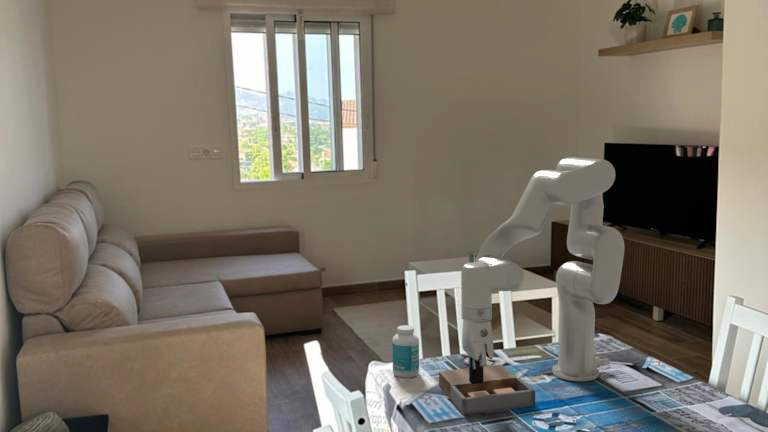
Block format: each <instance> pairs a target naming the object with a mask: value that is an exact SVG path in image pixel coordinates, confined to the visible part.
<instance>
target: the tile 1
mask: <svg viewBox="0 0 768 432" xmlns="http://www.w3.org/2000/svg"><path fill="white" fill-rule="evenodd" d="M483 395H490V394H489V393H488V392H487V391H478V392H470V393H467V397H475V396H483Z"/></svg>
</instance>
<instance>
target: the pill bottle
mask: <svg viewBox="0 0 768 432" xmlns="http://www.w3.org/2000/svg"><path fill="white" fill-rule="evenodd" d="M396 332H397V333H396V334H395V335H394V336H393V337H392V348H391V349H392V373H393V375H394V376H396V377H398V378H404V379H407V378H408V379H409V378H413V377H416V376H418V375H419V373H420V341H419V340H420V338H419V337H418V335H416V334H415V333H414V332H415V327H414V326H412V325H405V324H404V325H399V326H397V327H396Z"/></svg>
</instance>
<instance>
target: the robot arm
mask: <svg viewBox="0 0 768 432" xmlns="http://www.w3.org/2000/svg"><path fill="white" fill-rule="evenodd" d="M615 181H616V170H615V168H614V166H613V164H612V163H611V162H610V161H608V160H607V159H602V158H592V157H591V158H590V157H589V158H588V157H577V156H576V157H575V156H572V157H564V158H562V159H561V160H560V161H558V162H557V164H556V168H555V169H540V170H538V171H536V172H535V173H534V174H533V175H532V176H531V178H530V179H529V181H528V184H527V186H526V187H525V190H524V191H523V193H522V195H521V198H520V199H519V201H518V203H517V205H516V207H515V209H514V211H513V213H512V215H511V216H510V217H509V218H508V219H507V220H506V221H505V222H504V223H502V224H501V225H500V226H498V227H497V228H496V229H495V230H494V231H493V232H491V233H490V234H489V236H488V237H487V238H486V239H485V240H484V242H483V244H482V246H481V247H480V250H479V251H478V253H477V255H476V257H475V260H474V261H473V262H467V263H465V264H463V265H462V267H461V270H460V271H461V273H460V274H461V275H460V277H461V279H460V280H461V285H460V286H461V288H460V289H461V291H460V292H461V293H460V294H461V295H460V296H461V297H460V298H461V300H460V301H461V303H460V305H461V306H460V307H461V313H460V315H461V316H460V317H461V319H462V327H461V328H462V331H461V332H462V334H461V335H462V336H461V343H462V349H463V351H464V352H465V353H466V354H467V357H468V366H469V367H468V368H469V381H470V382H471V383H472V384H478V383H483V369H484V366H488V363H487V362H488V361H487V359H488V360H493V359H494V337H493V334H494V333H493V327H492V317H493V316H492V314H493V313H492V308H493V307H492V302H493V299H492V297H493V295H492V293H493V292H510V291H514V290H517V289H518V288H519V287H520V286H521V285H523V281H524V280H525V279H524V277H525V275H524V271H523V268H522V267H521V266H520V265H519V264H517V263H516V262H513V261H510V260H507V259H504V258H503V257H504V255H505V254H506V253H507V252H508V250H510V248H511V247H513V246H514V245H516V244H517V243H520V242H522V241H525V240H527V239H531V238H533V237H536V236H538V235H540V234H541V233H542V232H543V229H544V227H545V225H546V223H547V221H548V219H549V218H550V215H551V214H552V211H553V210H554V208H555V205H556V204H557V205H564V206H570V215H569V222H568V229H567V230H568V231H567V236H566V247H567V250H568V252H569V253H570V254H571V255H573V256H576V257H579V258H582V259H587V260H591V261H592V264H591V263H586V262H582V261H577V260H571V261H566V262H565V263H562V265H560V267H558V269H557V271H556V274H555V284H556V285H555V286H556V290H557V296H558V345H557V346H558V348H557V350H558V353H557V357H558V358H557V363H556V364H554V365H552V368H551V369H552V372H551V373H552V374H553V375H554V376H555V377H557V378H560V379H561V380H562V379H563V380H565V381H571V382H579V383H580V382H582V383H583V382H591V381H594V380H596V379H598V378H599V376H600V370H599V369H598V368H600V367H601V366H602V367H604V366H606V367H607V366H610V363H611V362H610V359H609V358H608V357H606V358H600V356H595V329H596V328H595V326H596V324H595V321H596V312H595V311H596V310H595V306H594V303H595V304H599V305H606V304H607V305H608V304H609V303H611V302H612V301H614V299H615V298H616V297H617V294H618V291H619V288H620V283H621V276H622V271H623V269H622V268H623V265H624V256H625V248H626V247H625V241H624V238H623V235H622V234H621V232H620V231H619V230H618V229H616V227H615V228H614V227H611V226H607V225H603V221H604V220H603V218H604V207H605V206H604V199H603V196H602V194H603V193H605V192H606V191H608V190H609V189H610V188H611V187H612V186H613V185H614V182H615ZM594 356H595V357H594Z"/></svg>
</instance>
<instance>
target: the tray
mask: <svg viewBox="0 0 768 432" xmlns="http://www.w3.org/2000/svg"><path fill="white" fill-rule="evenodd" d="M449 400H450V402H451V403H452V404H453V406H454V407H455V408H456V409H457V410H458V412H459V413H461V415H462V416H469V415H470V416H471V415H477V414H485V413H492V412H501V411H507V410H514V409H516V410H517V409H522V408H523V409H524V408H529V407H535V406H536V390H535V389H534V388H533V387H532V386H531V385H529V384H528V383H527V382H525V381H524V380H523V379H522V378H521V377H517V378H516V390H515V391H514V392H507V393H499V394H493V393H492V394H490V395H483V396H475V397H465V396H464V395H463V394H462V393H461V392H460V391H459V390H458V389H457V388H456V387H455V386H450V398H449Z"/></svg>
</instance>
